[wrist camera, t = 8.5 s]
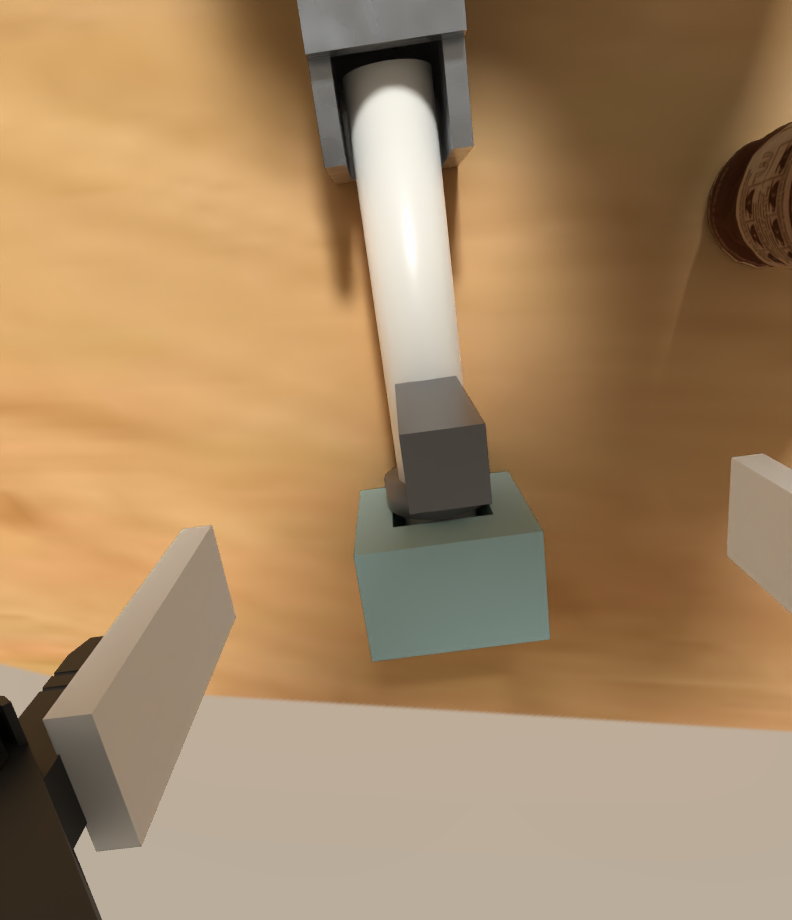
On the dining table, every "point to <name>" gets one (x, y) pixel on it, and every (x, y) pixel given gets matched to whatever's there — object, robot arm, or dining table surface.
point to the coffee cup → (756, 202)
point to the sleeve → (379, 39)
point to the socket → (451, 577)
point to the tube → (414, 294)
